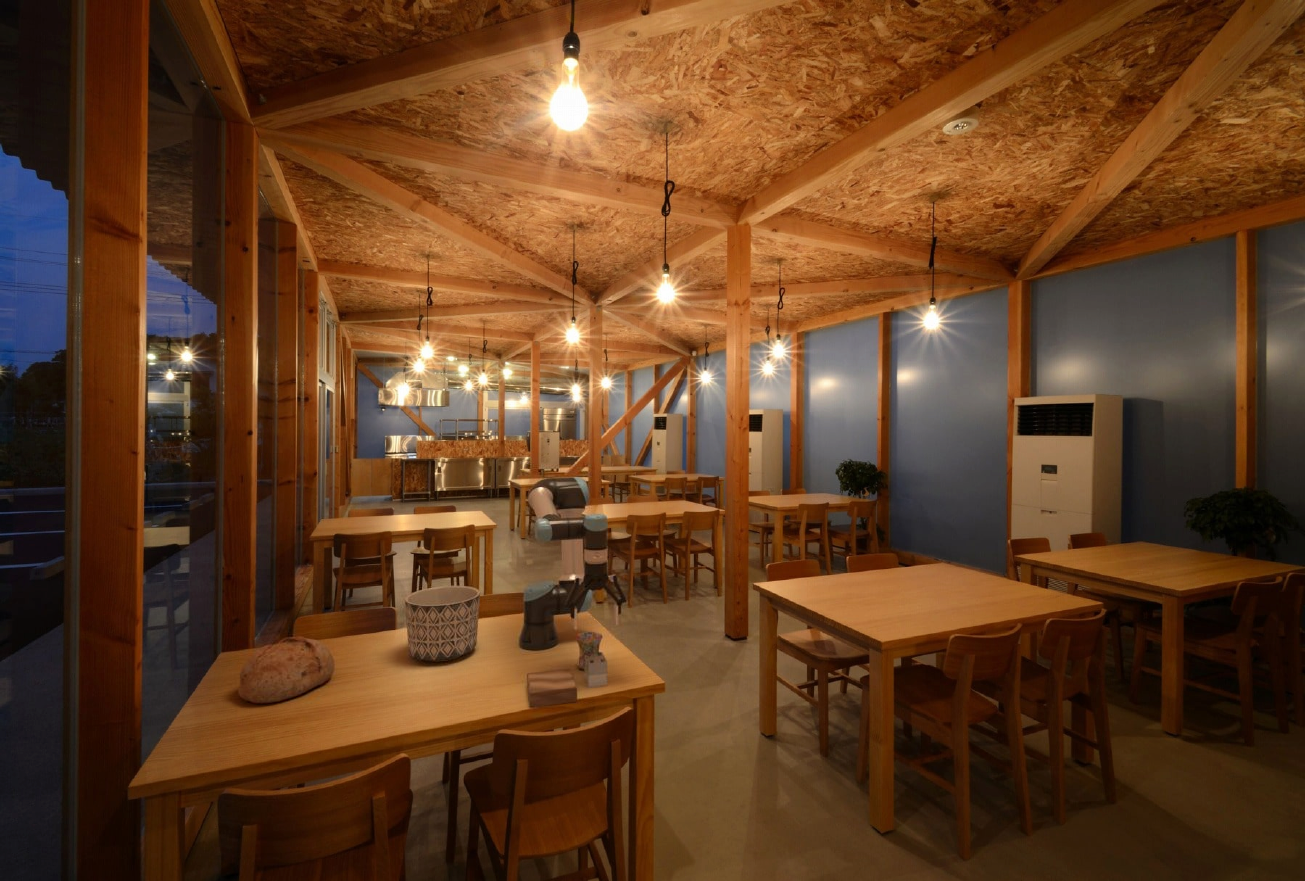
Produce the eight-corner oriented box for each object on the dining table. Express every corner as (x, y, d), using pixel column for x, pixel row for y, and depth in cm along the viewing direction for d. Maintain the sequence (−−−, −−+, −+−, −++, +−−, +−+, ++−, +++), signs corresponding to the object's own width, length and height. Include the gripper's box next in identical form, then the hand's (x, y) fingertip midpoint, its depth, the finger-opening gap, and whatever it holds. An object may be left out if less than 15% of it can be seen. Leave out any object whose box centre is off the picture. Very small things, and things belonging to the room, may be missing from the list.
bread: (271, 712, 162) (271, 661, 162) (218, 699, 170) (218, 650, 170) (349, 676, 186) (349, 631, 186) (300, 666, 195) (300, 623, 194)
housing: (584, 677, 185) (584, 652, 185) (602, 675, 187) (602, 651, 187) (588, 688, 178) (588, 662, 178) (607, 685, 179) (607, 660, 179)
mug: (605, 670, 192) (605, 639, 192) (578, 673, 189) (578, 642, 189) (597, 657, 203) (597, 628, 203) (572, 660, 200) (572, 630, 200)
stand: (526, 686, 179) (526, 672, 179) (570, 680, 183) (570, 667, 183) (530, 707, 165) (530, 693, 165) (577, 701, 169) (577, 687, 169)
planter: (479, 638, 222) (479, 583, 222) (480, 663, 197) (480, 601, 197) (408, 645, 214) (408, 588, 214) (401, 672, 189) (401, 608, 189)
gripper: (559, 566, 175) (559, 633, 175) (635, 561, 182) (635, 626, 182) (556, 561, 182) (556, 626, 182) (629, 557, 189) (629, 619, 189)
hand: (595, 626), depth 182 cm, fingers open, 13 cm apart
